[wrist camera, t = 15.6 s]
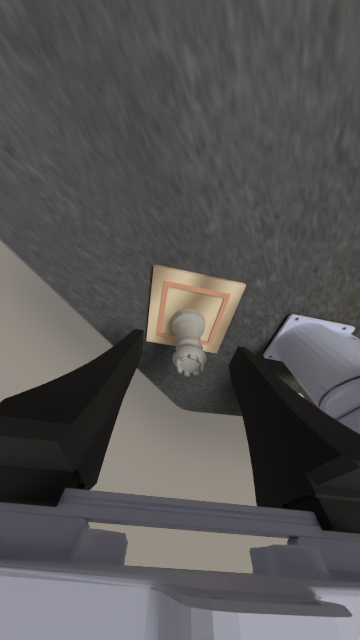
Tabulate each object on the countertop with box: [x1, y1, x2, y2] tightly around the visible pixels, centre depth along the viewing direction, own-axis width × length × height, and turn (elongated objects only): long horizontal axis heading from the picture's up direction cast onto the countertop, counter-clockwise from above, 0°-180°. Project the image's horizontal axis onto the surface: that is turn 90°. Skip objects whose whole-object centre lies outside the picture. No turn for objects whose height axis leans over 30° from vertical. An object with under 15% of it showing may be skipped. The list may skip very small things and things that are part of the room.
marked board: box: [146, 265, 246, 353], centre depth 20 cm, size 11×11×1 cm
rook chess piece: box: [172, 308, 207, 377], centre depth 16 cm, size 4×4×8 cm
